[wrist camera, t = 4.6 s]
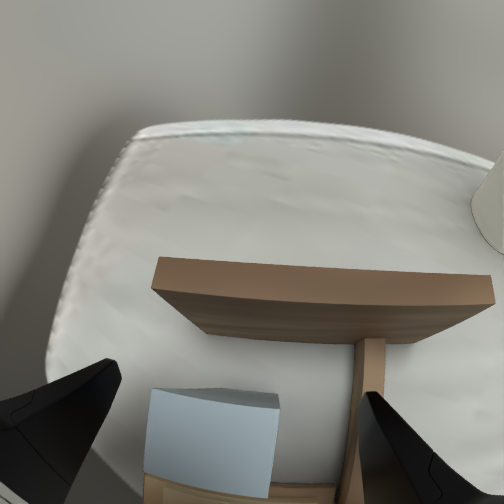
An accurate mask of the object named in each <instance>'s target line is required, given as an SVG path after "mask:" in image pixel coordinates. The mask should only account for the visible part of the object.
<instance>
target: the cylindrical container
mask: <svg viewBox="0 0 504 504" xmlns="http://www.w3.org/2000/svg"><path fill="white" fill-rule="evenodd" d="M471 208H472V213H473V217H474V220H475V222H476V225H477V227H478V228H479V230H480V232H481V234H482V235H483V237H484V238H485V239H486V240H487V242H488V243H489V244H490V245H491V246H492V247H493V248H494V249H495V250H497V251H498V252H500V253H502V254H504V150H503V152H502V154H501V155H500V157H499V159H498V160H497V162H496V163H495V165H494V166H493V168H492V169H491V171H490V172H489V174H488V175H487V177H486V178H485V180H484V181H483V183H482V184H481V186H480V187H479V188H478V190H477V191H476V193H475V194H474V195H473V198H472V201H471Z"/></svg>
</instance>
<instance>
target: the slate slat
mask: <svg viewBox="0 0 504 504" xmlns="http://www.w3.org/2000/svg"><path fill="white" fill-rule="evenodd" d="M279 414H280V404H279V396H278V394H270V393H259V392H250V391H241V390H233V389H226V388H208V389H162V388H152V390H151V397H150V405H149V413H148V421H147V430H146V440H145V451H144V464H143V472H146V473H148V474H151V475H154V476H157V477H161V478H164V479H167V480H171V481H174V482H178V483H181V484H185V485H189V486H193V487H197V488H202V489H206V490H211V491H217V492H222V493H228V494H234V495H241V496H249V497H258V498H268V492H269V486H270V480H271V473H272V467H273V460H274V453H275V446H276V438H277V430H278V422H279Z"/></svg>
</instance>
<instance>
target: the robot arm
mask: <svg viewBox="0 0 504 504" xmlns="http://www.w3.org/2000/svg"><path fill="white" fill-rule="evenodd" d="M121 380H122V376H121V373H120V370H119V367H118V364H117V362H116V361H115V360H112V359H109V358H106V359H103V360H101V361H99V362H97V363H94V364H92V365H90V366H88V367H86V368H83V369H81V370H79V371H77V372H74V373H72V374H70V375H67V376H65V377H63V378H60V379H58V380H56V381H53V382H51V383H49V384H46V385H44V386H42V387H39V388H37V389H34V390H32V391H30V392H27V393H24V394H22V395H19V396H16V397H13V398H10V399H6V400H3V401H0V504H64V502H65V499H66V497H67V495H68V493H69V491H70V488H71V486H72V484H73V482H74V479H75V478H76V475H77V473H78V471H79V469H80V467H81V465H82V463H83V461H84V459H85V457H86V455H87V453H88V451H89V449H90V447H91V445H92V443H93V441H94V439H95V437H96V435H97V433H98V431H99V429H100V427H101V426H102V424H103V422H104V420H105V418H106V416H107V414H108V412H109V410H110V408H111V405H112V403H113V400H114V398H115V395H116V393H117V390H118V388H119V385H120V383H121ZM358 446H359V457H360V465H361V474H362V483H363V494H364V504H504V496H503V495H490V494H487V493H484V492H482V491H480V490H479V489H477V488H476V487H475V486H473V485H472V484H471V483H469V482H468V481H467V480H465V479H464V478H463V477H462V476H460V475H459V474H458V473H457V472H455V471H454V470H453V469H452V468H451V467H450V466H449V465H447V464H446V463H445V462H444V461H443V460H442V459H441V458H440V457H439V456H438V455H437V454H436V453H435V452H433V450H432V448H431V447H430V446H429V445H428V444H427V443H426V442H425V441H424V440H423V439H422V438H421V437H420V436H419V435H418V434H417V433H416V432H415V431H414V430H413V429H412V428H411V427H410V425H409V424H408V423H407V422H406V421H405V420H404V419H403V418H402V417H401V416H400V415H399V414H398V413H397V412H396V411H395V410H394V409H393V408H392V407H391V406H390V404H389V403H388V402H387V401H386V400H385V399H384V398H383V397H382V396H381V395H380V394H379V393H378V392H377V391H366V392H365V393H364V395H363V397H362V400H361V402H360V405H359V407H358Z"/></svg>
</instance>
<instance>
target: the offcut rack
mask: <svg viewBox="0 0 504 504" xmlns="http://www.w3.org/2000/svg"><path fill="white" fill-rule="evenodd" d="M151 289H153V290H154V291H155V292H156V293H157V294H158V295H159V296H161V297H162V298H163V299H164V300H165V301H167V302H168V303H169V304H170V305H171V306H172V307H174V308H175V309H176V310H177V311H179V312H180V313H181V314H182V315H183V316H185V317H186V318H187V319H188V320H190V321H191V322H192V323H193V324H195V325H196V326H197V327H199V328H200V329H201V330H202V331H204V332H205V333H206V334H213V335H221V336H229V337H238V338H248V339H258V340H270V341H284V342H300V343H322V344H355V362H354V379H353V393H352V404H351V414H350V423H349V431H348V439H347V446H346V453H345V459H344V465H343V471H342V476H341V481H340V486H339V491H338V496H337V500H336V504H364V494H363V483H362V474H361V465H360V457H359V446H358V407H359V405H360V402H361V400H362V397H363V395H364V393H365V392H366V391H377V392H378V393H379V394H380V395H381V396H382V397H383V395H384V379H385V344H402V343H415V342H418V341H420V340H423V339H425V338H428V337H430V336H432V335H434V334H437V333H439V332H441V331H443V330H446V329H448V328H450V327H452V326H454V325H456V324H458V323H460V322H462V321H464V320H466V319H468V318H470V317H472V316H474V315H476V314H478V313H480V312H481V311H483V310H485V309H487V308H489V307H491V306H492V305H494V304H495V297H494V291H493V285H492V280H491V275H466V274H441V273H419V272H398V271H378V270H359V269H340V268H323V267H306V266H289V265H273V264H257V263H242V262H227V261H213V260H199V259H185V258H171V257H159V259H158V263H157V266H156V270H155V274H154V278H153V282H152V286H151ZM335 491H336V487H335V485H334V483H330V484H287V483H271V482H270V486H269V492H268V498H258V497H249V496H241V495H234V494H228V493H222V492H217V491H211V490H206V489H202V488H197V487H193V486H189V485H185V484H181V483H178V482H174V481H171V480H167V479H164V478H161V477H157V476H154V475H151V474H148V473H146V472H144V488H143V504H333V500H334V495H335Z"/></svg>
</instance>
